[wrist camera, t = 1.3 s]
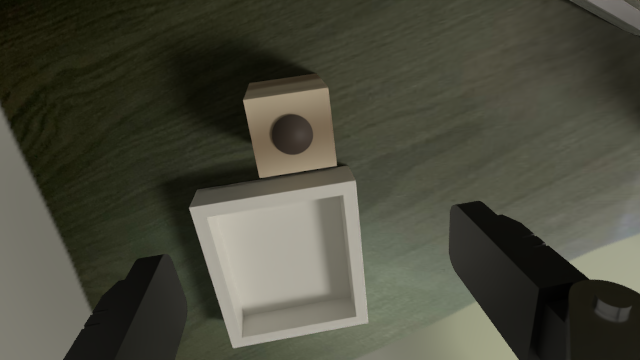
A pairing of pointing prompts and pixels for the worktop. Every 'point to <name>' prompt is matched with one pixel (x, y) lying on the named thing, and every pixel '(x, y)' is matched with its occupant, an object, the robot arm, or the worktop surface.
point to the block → (290, 125)
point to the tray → (284, 254)
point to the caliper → (614, 13)
